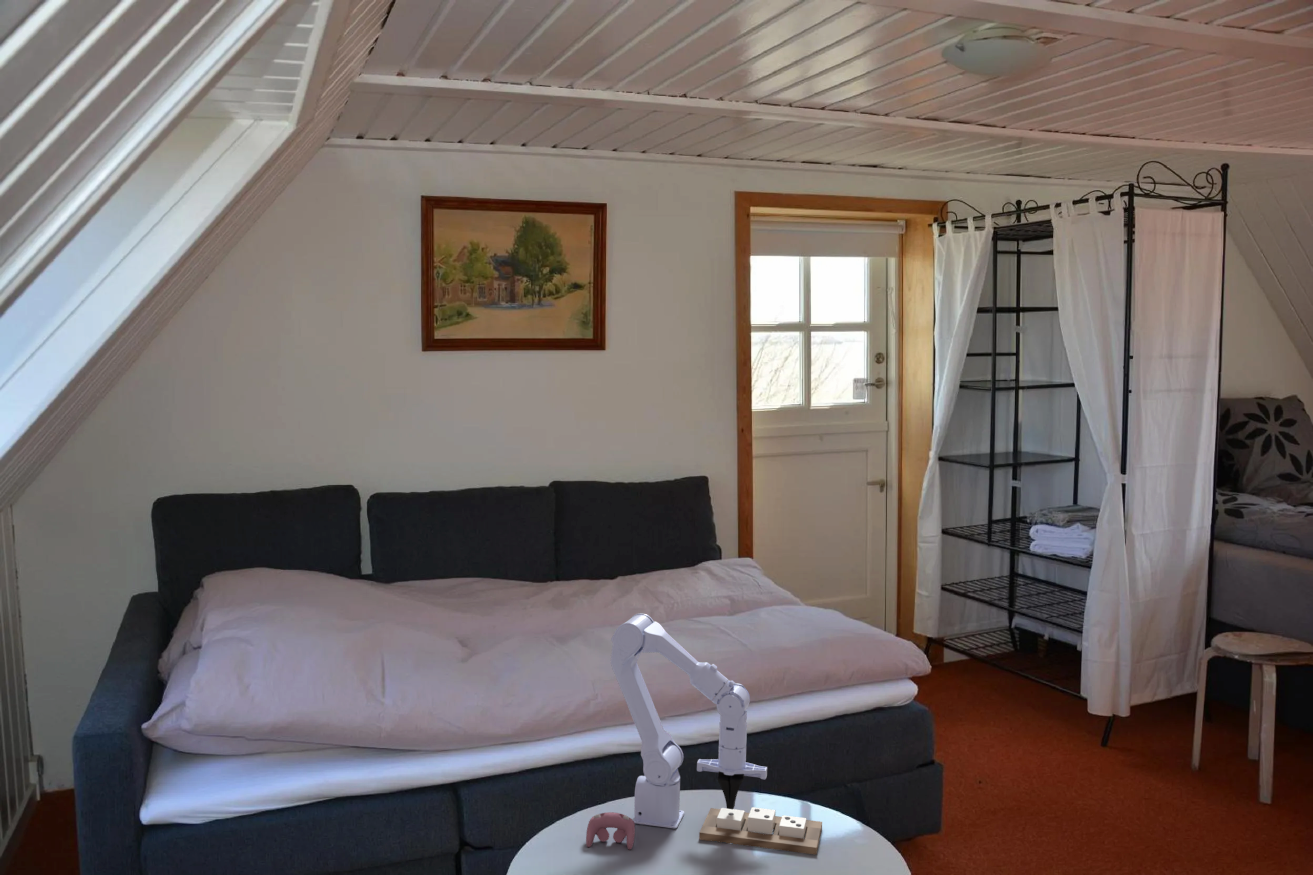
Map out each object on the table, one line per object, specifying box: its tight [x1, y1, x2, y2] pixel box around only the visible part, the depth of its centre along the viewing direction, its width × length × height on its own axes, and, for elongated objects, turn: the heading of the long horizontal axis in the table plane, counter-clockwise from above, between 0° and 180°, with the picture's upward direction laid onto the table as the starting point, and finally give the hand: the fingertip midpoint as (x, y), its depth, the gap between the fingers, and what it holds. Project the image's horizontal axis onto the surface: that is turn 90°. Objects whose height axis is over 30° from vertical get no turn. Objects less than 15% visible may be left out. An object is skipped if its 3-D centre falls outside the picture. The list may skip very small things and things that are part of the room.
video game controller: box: [585, 811, 636, 851], centre depth 216 cm, size 10×5×7 cm, turn 85°
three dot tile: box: [779, 815, 807, 839], centre depth 219 cm, size 5×5×3 cm
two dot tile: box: [748, 806, 776, 835], centre depth 221 cm, size 5×5×3 cm
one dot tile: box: [717, 807, 746, 831], centre depth 223 cm, size 5×5×3 cm
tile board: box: [698, 807, 823, 856], centre depth 221 cm, size 24×12×2 cm, turn 76°
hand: (730, 806), depth 222 cm, fingers closed
